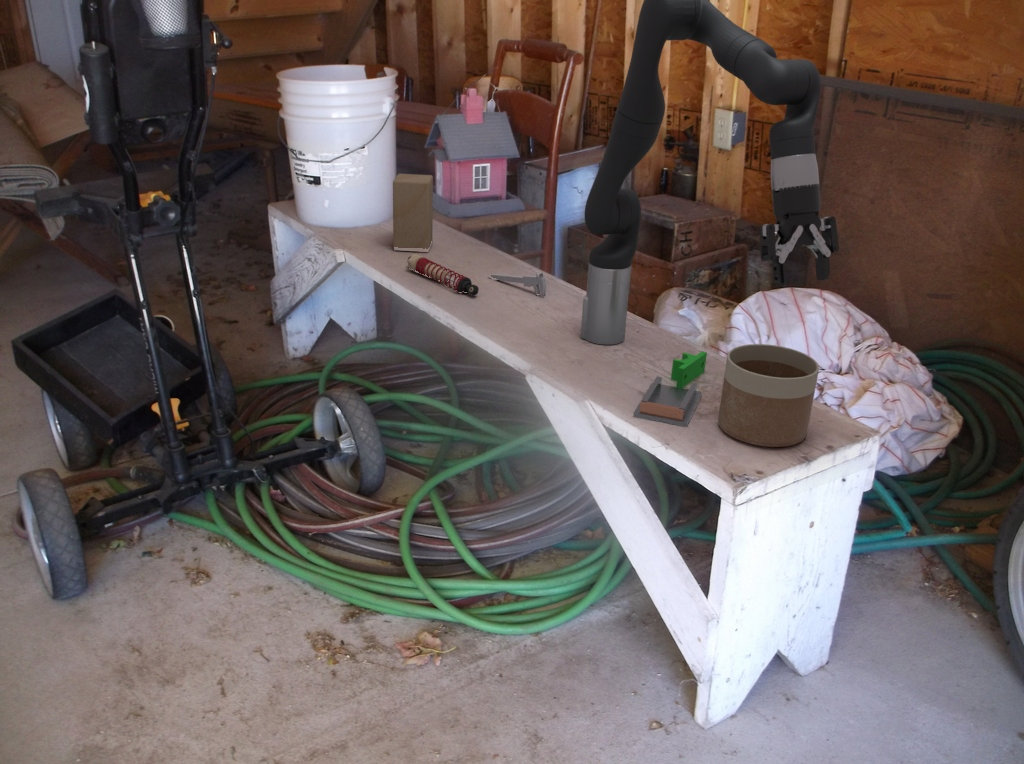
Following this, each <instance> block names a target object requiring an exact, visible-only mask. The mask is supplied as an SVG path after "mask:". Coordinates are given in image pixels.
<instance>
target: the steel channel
mask: <svg viewBox="0 0 1024 764" xmlns="http://www.w3.org/2000/svg"><path fill="white" fill-rule="evenodd" d="M662 380H663V377H662V376H659V375H657V376H656V377H655V379H654V380H653V382H652V383H651V384H650V385H649V387H648V389H647V390H646V392H645V394H644V395H643V396H642V399H641V400H640V402H639V404H638V405H637V406H636V408H635V410H634V411H633V415H632V417H634V416H636V417H635V418H639V417H640V418H639V419H643V420H648V421H649V420H650V421H655V422H661V423H665V424H669V425H675V426H681V427H688V424H689V423H690V422H691V418H692V417H693V414H694V413H695V410H696V408H697V407H698V404H699V402H700V400H701V398H702V396H703V391H700V390H697V389H698V383H695V382H692V383H691V385H690V386H689V388H684V387H683V388H678V387H676V386H673V385H666V384H662Z"/></svg>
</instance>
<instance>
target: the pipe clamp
mask: <svg viewBox="0 0 1024 764" xmlns="http://www.w3.org/2000/svg"><path fill="white" fill-rule="evenodd" d="M707 355H708V353H707V352H706V351H700V352H699V353H697V354H696V355H695V354H692V353H688V352H683V353H682V356H681V359H678V358H674V359H673V360H672V367H671V375H670V380H671V381H675V382H676V386H675V387H678V388H683V389H684V388H685V387H686V386H688V385H689V384H690V383H691V382H693V381H694V380H696V379H697V378H698V377H699V376H701V375H702V374H704V373H705V370H706V363H707Z"/></svg>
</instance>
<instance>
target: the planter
mask: <svg viewBox="0 0 1024 764" xmlns="http://www.w3.org/2000/svg"><path fill="white" fill-rule="evenodd" d="M725 361H726V362H725V366H724V367H725V369H724V375H723V382H722V389H721V396H720V404H719V410H718V414H717V415H718V416H717V417H718V418H717V423H718V425H719V427H720V429H722V431H724V432H725V433H726V434H727V435H728V436H730V437H732V438H734V439H736V440H738V441H741V442H743V443H747V444H750V445H754V446H760V447H769V448H781V447H782V448H784V447H790V446H794V445H797V444H799V443H801V442H802V441H803V440H805V439H806V437H807V434H808V429H809V424H810V419H811V413H812V408H813V403H814V398H815V393H816V387H817V382H818V378H819V377H818V376H819V372H820V365H819V362H817V361H816V360H815V359H814V358H813V357H811V356H810V355H809V354H806V353H803V351H799V350H797V349H794V348H790V347H785V346H781V345H775V344H768V343H767V344H765V343H764V344H763V343H753V344H744V345H739V346H735V347H733V348H732V349H730V350H729V351H728V352H727V355H726V360H725Z"/></svg>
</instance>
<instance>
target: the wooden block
mask: <svg viewBox="0 0 1024 764" xmlns="http://www.w3.org/2000/svg"><path fill="white" fill-rule="evenodd" d="M433 184H434V177H433V175H432V174H413V173H397V175H396V176H395V178H394V180H393V181H392V225H393V227H392V229H393V231H392V235H393V238H392V241H393V242H392V243H393V247H398V248H423V249H425V248H426V249H428V248H429V247H430V244H431V241H432V242H433V229H434V228H433V220H434V219H433V218H434V217H433V215H434V214H433V212H434V204H433V203H434V200H433V199H434V185H433ZM430 248H431V247H430Z"/></svg>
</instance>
